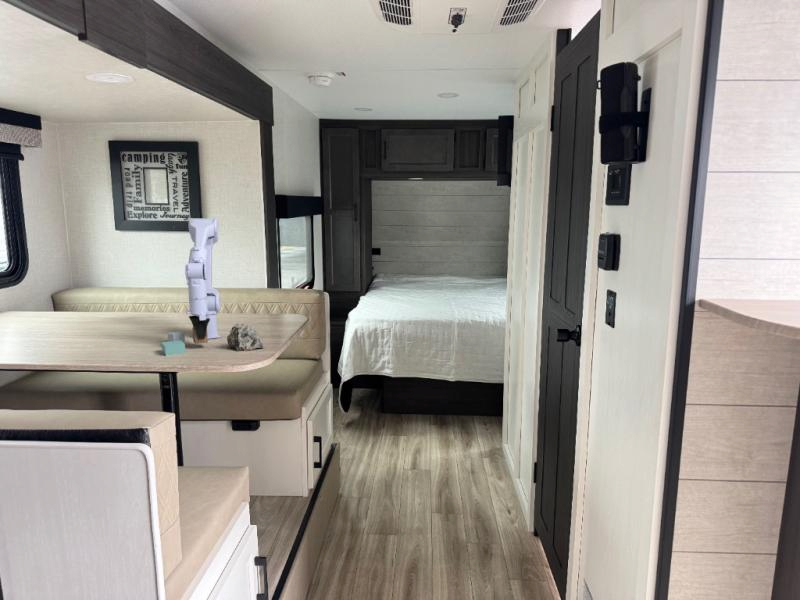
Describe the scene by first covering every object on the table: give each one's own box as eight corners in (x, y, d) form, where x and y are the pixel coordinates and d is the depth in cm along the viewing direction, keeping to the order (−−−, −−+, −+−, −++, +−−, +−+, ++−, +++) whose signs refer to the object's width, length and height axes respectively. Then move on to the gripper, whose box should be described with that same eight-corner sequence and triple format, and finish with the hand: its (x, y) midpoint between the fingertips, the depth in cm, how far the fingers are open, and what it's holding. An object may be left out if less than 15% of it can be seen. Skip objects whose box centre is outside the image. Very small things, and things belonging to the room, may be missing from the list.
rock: (227, 358, 174) (245, 335, 172) (217, 340, 180) (234, 317, 178) (258, 366, 184) (275, 344, 183) (247, 348, 190) (263, 327, 188)
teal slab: (162, 352, 176) (161, 342, 175) (181, 350, 179) (180, 340, 178) (165, 356, 171) (165, 346, 170) (185, 354, 174) (184, 343, 173)
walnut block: (193, 341, 182) (192, 327, 181) (205, 340, 184) (204, 326, 183) (195, 343, 179) (194, 329, 178) (207, 342, 181) (206, 328, 180)
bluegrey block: (168, 347, 182) (167, 332, 181) (179, 344, 185) (178, 331, 184) (174, 349, 180) (173, 334, 179) (185, 346, 183) (184, 332, 182)
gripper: (182, 295, 183) (184, 334, 185) (188, 302, 171) (191, 343, 173) (203, 294, 187) (205, 331, 189) (211, 300, 174) (213, 340, 177)
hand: (200, 337), depth 181 cm, fingers closed on walnut block, 4 cm apart
